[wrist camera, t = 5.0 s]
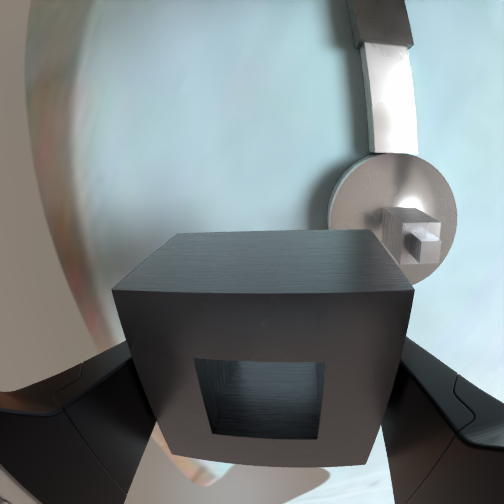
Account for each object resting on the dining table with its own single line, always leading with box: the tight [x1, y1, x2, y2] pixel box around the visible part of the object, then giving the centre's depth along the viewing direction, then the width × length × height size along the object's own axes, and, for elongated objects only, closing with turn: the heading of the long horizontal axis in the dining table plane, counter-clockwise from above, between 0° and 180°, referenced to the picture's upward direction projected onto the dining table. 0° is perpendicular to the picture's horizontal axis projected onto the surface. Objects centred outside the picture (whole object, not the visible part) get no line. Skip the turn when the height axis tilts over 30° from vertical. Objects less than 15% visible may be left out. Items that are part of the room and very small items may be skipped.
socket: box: [111, 229, 415, 467], centre depth 8 cm, size 6×6×4 cm
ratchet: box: [327, 0, 457, 285], centre depth 13 cm, size 8×20×6 cm, turn 4°
